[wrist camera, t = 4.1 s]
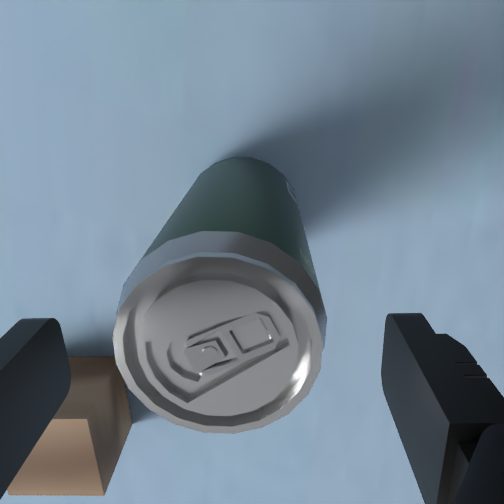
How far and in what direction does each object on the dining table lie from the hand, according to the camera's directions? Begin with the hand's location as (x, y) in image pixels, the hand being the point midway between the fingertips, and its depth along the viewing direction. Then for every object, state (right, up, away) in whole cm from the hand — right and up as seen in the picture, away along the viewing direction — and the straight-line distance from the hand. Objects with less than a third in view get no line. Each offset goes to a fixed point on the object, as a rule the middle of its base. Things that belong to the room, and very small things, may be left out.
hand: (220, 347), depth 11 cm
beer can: (0, +5, +11) cm, 12 cm away
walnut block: (-9, -6, +15) cm, 19 cm away
